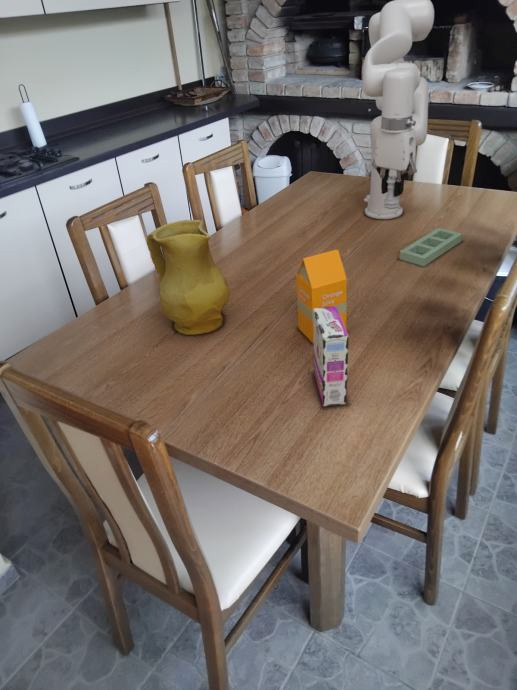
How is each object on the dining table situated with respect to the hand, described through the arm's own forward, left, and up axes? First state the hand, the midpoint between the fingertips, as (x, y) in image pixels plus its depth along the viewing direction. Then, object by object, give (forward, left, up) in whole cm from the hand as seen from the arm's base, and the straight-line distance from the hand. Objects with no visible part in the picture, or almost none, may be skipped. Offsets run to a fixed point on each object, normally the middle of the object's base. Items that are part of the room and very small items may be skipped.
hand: (391, 193), depth 148 cm
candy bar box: (+37, -52, -19) cm, 66 cm away
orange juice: (+19, -40, -19) cm, 48 cm away
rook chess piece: (0, 0, -4) cm, 4 cm away
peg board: (+5, +12, -19) cm, 23 cm away
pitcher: (-5, -61, -19) cm, 64 cm away
